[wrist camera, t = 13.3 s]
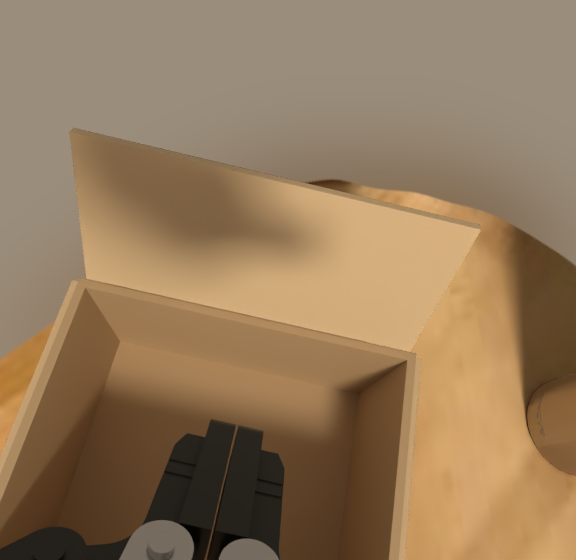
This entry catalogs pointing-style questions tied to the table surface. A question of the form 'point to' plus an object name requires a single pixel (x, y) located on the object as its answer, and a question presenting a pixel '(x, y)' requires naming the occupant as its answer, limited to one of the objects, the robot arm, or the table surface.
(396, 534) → the carton
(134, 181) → the carton flap
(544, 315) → the table surface
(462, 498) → the table surface
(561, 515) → the table surface
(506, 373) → the table surface
